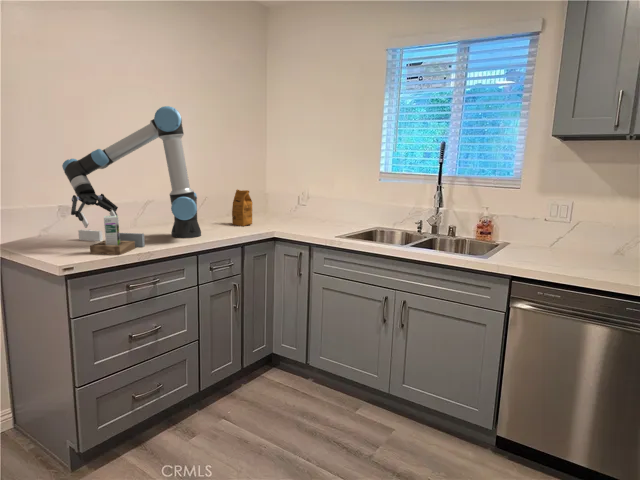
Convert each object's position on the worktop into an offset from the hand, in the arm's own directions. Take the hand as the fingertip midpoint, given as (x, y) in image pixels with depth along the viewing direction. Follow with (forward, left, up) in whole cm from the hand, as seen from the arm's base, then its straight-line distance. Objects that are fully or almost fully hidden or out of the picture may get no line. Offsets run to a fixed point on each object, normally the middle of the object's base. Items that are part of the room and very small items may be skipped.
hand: (102, 224), depth 195 cm
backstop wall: (-6, -8, -11) cm, 15 cm away
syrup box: (-6, +4, -10) cm, 13 cm away
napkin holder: (+18, -20, -12) cm, 29 cm away
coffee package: (-41, -84, -11) cm, 94 cm away
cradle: (-6, +4, -11) cm, 14 cm away
